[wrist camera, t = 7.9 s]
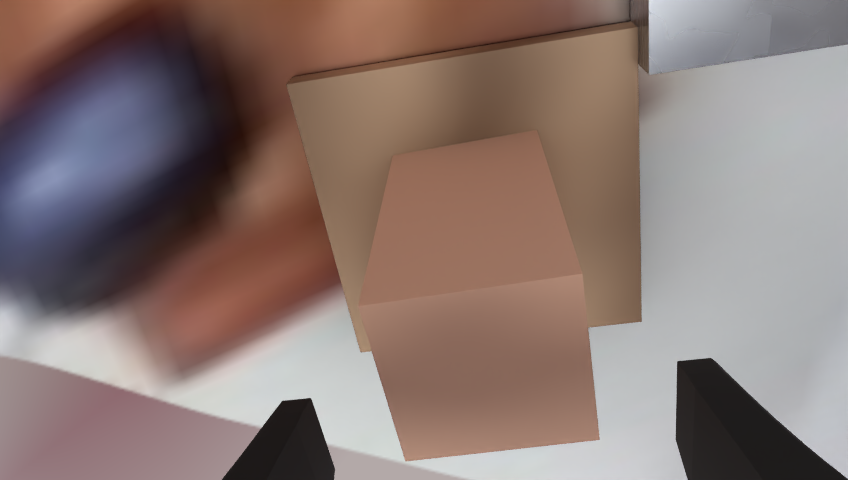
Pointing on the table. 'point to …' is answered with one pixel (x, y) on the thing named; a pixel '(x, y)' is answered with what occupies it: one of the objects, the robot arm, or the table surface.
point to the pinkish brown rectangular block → (478, 303)
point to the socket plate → (732, 30)
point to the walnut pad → (481, 119)
